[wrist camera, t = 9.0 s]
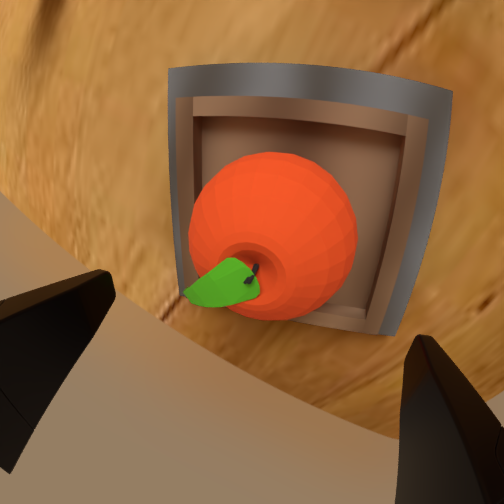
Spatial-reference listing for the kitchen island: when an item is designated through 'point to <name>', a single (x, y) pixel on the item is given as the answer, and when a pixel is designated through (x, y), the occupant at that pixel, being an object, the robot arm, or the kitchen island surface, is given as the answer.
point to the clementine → (271, 237)
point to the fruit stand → (321, 164)
